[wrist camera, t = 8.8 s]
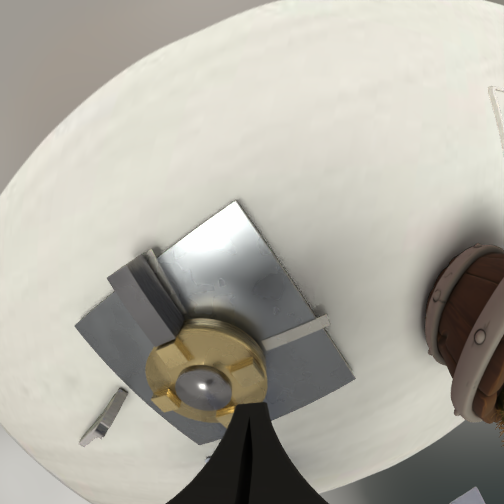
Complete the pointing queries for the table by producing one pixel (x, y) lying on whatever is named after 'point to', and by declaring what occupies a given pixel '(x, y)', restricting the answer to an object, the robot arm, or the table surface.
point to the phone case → (497, 112)
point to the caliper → (104, 419)
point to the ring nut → (191, 352)
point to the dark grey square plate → (227, 318)
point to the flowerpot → (471, 331)
